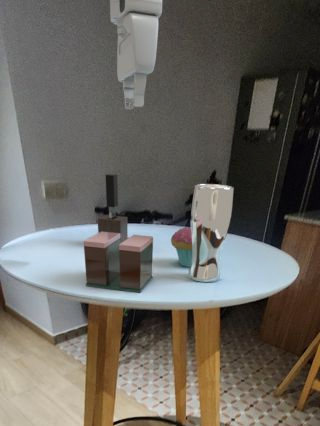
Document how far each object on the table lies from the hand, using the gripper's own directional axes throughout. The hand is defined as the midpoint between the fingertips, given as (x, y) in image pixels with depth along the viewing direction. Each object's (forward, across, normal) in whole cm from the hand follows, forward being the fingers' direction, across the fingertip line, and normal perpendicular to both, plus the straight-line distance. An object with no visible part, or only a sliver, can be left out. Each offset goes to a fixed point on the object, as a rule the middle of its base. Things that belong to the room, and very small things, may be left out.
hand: (133, 108), depth 75 cm
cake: (+26, +30, -8) cm, 40 cm away
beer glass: (+26, +29, +8) cm, 40 cm away
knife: (+26, +3, -5) cm, 26 cm away
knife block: (+26, +3, -5) cm, 26 cm away
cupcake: (+26, +20, +8) cm, 34 cm away
